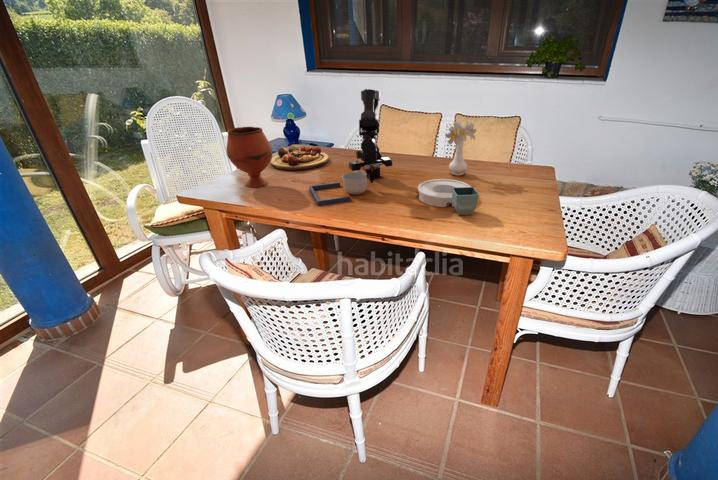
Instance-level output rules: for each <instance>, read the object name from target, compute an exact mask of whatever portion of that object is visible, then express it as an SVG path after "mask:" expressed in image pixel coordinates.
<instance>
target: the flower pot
mask: <svg viewBox="0 0 718 480" xmlns="http://www.w3.org/2000/svg"><path fill="white" fill-rule="evenodd" d="M479 198H480V193H479V192H478V191H477V189H476V188H475V187H474V186H471V187H460V188H452V199H453V204H454V207H453V208H454V210H455V212H456V213H457V215H459V216H467V215H468V216H470V215H472V214H473V213H474V212H475V210H476V209H477V205H478V202H479Z"/></svg>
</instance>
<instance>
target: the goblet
mask: <svg viewBox="0 0 718 480" xmlns="http://www.w3.org/2000/svg"><path fill="white" fill-rule="evenodd" d="M226 131H227V142H226V155H227V159H229V161H230V162H231V164H232V165H233V166H235V167H236V168H237V169H238V170H240V171H242V172H244V173H245V174H246V173H247V176H248V177H249V179H248V181H246V186H247V187H249V188H258V187H264V186H265V185H266V184H267V182H266V180H265V179H264V178H263V177H262V176H261V175H262V172H263V171H264V170H265V169H266V168H267V167H268V166H269V164H271V163H270V161H271V159H272V158H273V148H272V146H271V143H270V141H269V140H268V138H267V136H266V135H265V133H264V132H263V128H262V127H258V126H241V127H234V128H233V127H232V128H229V129H227V130H226Z"/></svg>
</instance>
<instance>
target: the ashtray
mask: <svg viewBox="0 0 718 480" xmlns="http://www.w3.org/2000/svg"><path fill="white" fill-rule="evenodd" d="M460 187H472V186H471V185H470V184H468V183H466V182H463V181H461V180H456V179H449V178H438V179H429V180H426V181H425V180H424V181H423V182H421V183H419V184H418V186H417V196H418V200H419V201H420V202H422V203H424V204H426V205H429V206H433V207H438V208H446V207H448V206H450V205H451V207H452V208H455V207H454V204H453V199H452V188H460Z"/></svg>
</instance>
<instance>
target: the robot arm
mask: <svg viewBox="0 0 718 480" xmlns="http://www.w3.org/2000/svg"><path fill="white" fill-rule="evenodd" d="M360 96H361V97H360V100H361V101H362V105H363V106H364V107H363V112H361V114H360V119H358V135H359V136H360V137H361V136H362V140H361V143H360V148H361V150H357V151H355V156H356V159H357V160H350V161H349V162H348V168H349V170H351V172H355V171H358V172H359V171H361V169H362V170H363V172H364V173H366V174H367V179H369V182H370V184H373V183H374V181H375V179H379V178H382V175H381V166H383V165H384V166H385V167H386V168H387V167H388V168H389V167H392V166H393V160H392V159H391V157H389V156H383V154H382V152H380V148H379V146H378V144H377V136H378V135H379V133H380V121H379V120H378V119H379V118H378V119H377V113H376V111H377V109H378V107H379V102H380V101H381V92H380V90H377V89H374V88H364V89H363V90H360ZM359 159H360V161H361V162H360V161H359Z"/></svg>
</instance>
